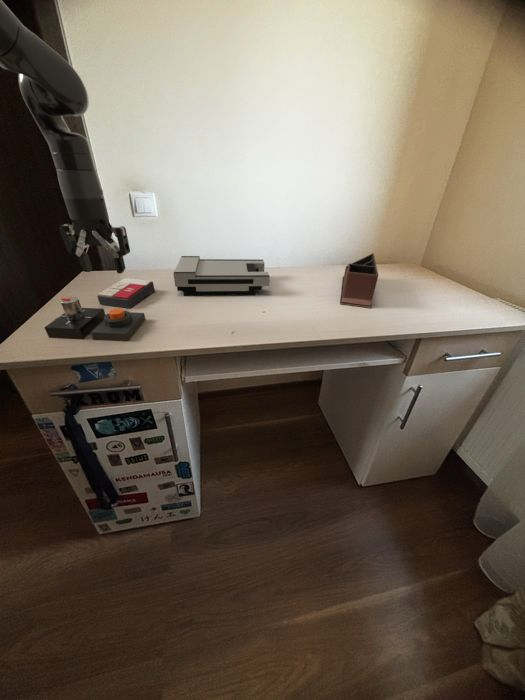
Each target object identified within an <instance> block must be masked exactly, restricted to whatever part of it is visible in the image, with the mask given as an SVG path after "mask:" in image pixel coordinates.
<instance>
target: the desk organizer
mask: <svg viewBox="0 0 525 700" xmlns="http://www.w3.org/2000/svg"><path fill="white" fill-rule="evenodd" d="M378 278H379V272H378V267H377V262H376V257H375V253H371V254H368V255H367V256H366V255H365V257H362V258H360V259H358V260H356V261H353V262H351V263H348V264H347V265H346V266H345V269H344V274H343V276H342V279H341V280H342V281H341V291H340V297H339V298H340V299H339V304H340V305H346V306H352V307H358V308H359V307H360V308H367V309H372V301H373V298H374V293H375V289H376V288H377V287H376V286H377V283H378Z"/></svg>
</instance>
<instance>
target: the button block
mask: <svg viewBox="0 0 525 700" xmlns="http://www.w3.org/2000/svg"><path fill="white" fill-rule="evenodd" d="M124 314H125V317H124V318H121V319H116V320H113V319H110V315H109V312H108V313H105V316H104V320H103V321H102V322H101V323H100V324H99V325H98V326H97V327H96V328H95V329H94V330H93V331H91V333H90V334H91V337H92V340H97V341H99V340H100V341H117V342H128V341H130V340H131V338H132V337H133V336H134V334H135V333H136V332H137V331H138V329H139V328H140V327H141V326H142V325H143V323H144V322H145V321H146V315H145V313H144V312H131V311H128V310H124Z"/></svg>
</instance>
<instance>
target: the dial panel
mask: <svg viewBox="0 0 525 700" xmlns="http://www.w3.org/2000/svg"><path fill="white" fill-rule="evenodd" d="M81 308H82V310H83V313H84V317H83V318H81V319H79V320H73V321H72V320H68V319H67V317H66V315H65V312H64V313H62V314H61V315H60V316H58V317H57V318H55V319H54V320H53V321H51V322H50V323H48V324H47V325H45V326H44V330H45V332H46V334H47V337H48V338H51V339H52V338H54V339H74V340H75V339H76V340H84V339H85V338H86V337H87V336H88V335H90V334H91V331H93V330H94V329H95V328H96V327H97V326H98V325H99V324H100V323H101V322H102V321H103V320H104V316H105V315H106V312H105V309H104V308H98V307H97V308H96V307H81Z"/></svg>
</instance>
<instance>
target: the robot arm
mask: <svg viewBox="0 0 525 700" xmlns="http://www.w3.org/2000/svg"><path fill="white" fill-rule="evenodd" d="M0 67H1V68H2V69H4V70H5V71H8V72H10V73H15V74H17V75H18V76H17V78H18V80H17V81H18V86H19V90H20V93H21V96H22V98H23V101H24V102H25V105H26V107H27V108H28V109H29V112H30V114H31V115H32V118H33V119H34V121H35V123H36V124H37V126H38V128H39V130H40V132H41V134H42V136H43V137H44V139H45V141H46V142H47V145H48V147H49V151H50V153H51V158H52V160H53V163H54V167H55V170H56V174H57V180H58V183H59V188H60V191H61V194H62V197H63V200H64V203H65V207H66V210H67V213H68V216H69V219H70V220H71V221H72V224H70V223H65V224H61V225H59V226H58V228H59V229H58V230H59V232H60V235H61V237H62V240H63V243H64V247H65V249H66V251H67V253H69V254H74V255H76V256H77V258H78V261H79V264H80V267H81V269H82V270H84V272H85V273H90V272H91V271H92V270H93V266H92V263H91V259H90V256H89V254H88V250H89V248H90V247H93V246H97V247H103V248H104V249H105V250H106V251H109V253H110V254H111V255H112V256H113V262H114V266H115V270H116V273H117V274H120V275H121V274H122V273H123V274H124V272H125V270H126V264H125V259H124V257H125V256H127V255H129V254H130V253H131V247H130V243H129V239H128V233H127V229H126V227H125V226H124V225H121V226H113V225H112V224H111V222H110V216H109V212H108V208H107V204H106V199H105V196H104V190H103V189H102V184H101V181H100V178H99V175H98V172H97V170H96V169H97V168H96V165H95V161H94V156H93V153H92V148H91V145H90V142H89V140H88V139H87V138H86V137H85V136H84V135H83V134H80V133H78V132H74V131H72V130H71V129H70V128H69V126H68V125H67V122H66V121H65V119H64V117H80V116H83V115H84V114H86V113H87V111H88V109H89V106H90V100H89V99H90V98H89V93H88V90H87V88H86V86H85V83H84V81H83V80H82V78H81V76H80V75H79V73H78V72H77V71H76V70H75V68H74V67H73V66H72V65H71V64H70V63H69V62H68V61H67V60H66V59H65V58H64V57H62V55H60V53H58V52H57V51H56V50H54V49H53V48H52V47H51V46H50V45H49V44H47V42H45V41H44V40H43V39H42V38H40V37H39V36H38V35H37V34H36V33H34V32H33V31H32V30H30V29H29V28H27V27H26V26H25V25H24V24H23V23H22V22H21V20H19V18H18V17H17V15H15V14H14V13H13V11H11V9H10V8H9V7H8V6H7V5H6V3H5V2H4V1H3V0H0ZM75 234H76V235H77V236H78V240H76V236H75ZM112 235H114V237H115V238H116V240H117V241H116V240H115V239H114V238H113V236H112Z"/></svg>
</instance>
